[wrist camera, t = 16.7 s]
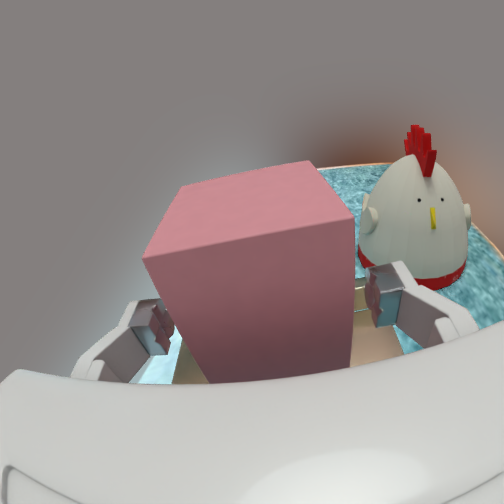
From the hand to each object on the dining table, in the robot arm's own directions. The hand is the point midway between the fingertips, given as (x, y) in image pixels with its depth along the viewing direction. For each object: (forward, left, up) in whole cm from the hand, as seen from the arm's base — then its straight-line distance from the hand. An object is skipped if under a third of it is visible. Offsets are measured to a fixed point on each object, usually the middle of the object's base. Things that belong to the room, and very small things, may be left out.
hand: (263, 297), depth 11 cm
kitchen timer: (+16, +18, -13) cm, 27 cm away
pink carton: (0, 0, -7) cm, 7 cm away
